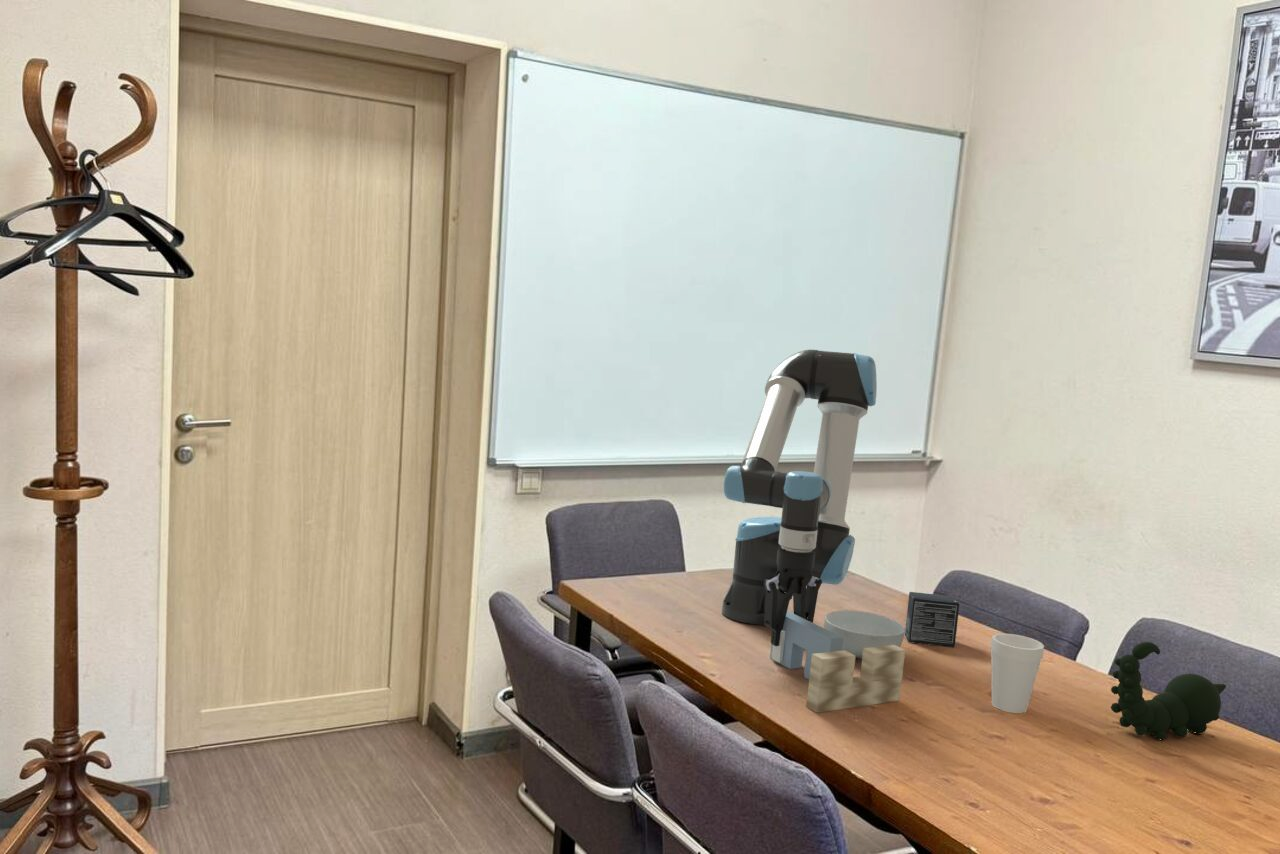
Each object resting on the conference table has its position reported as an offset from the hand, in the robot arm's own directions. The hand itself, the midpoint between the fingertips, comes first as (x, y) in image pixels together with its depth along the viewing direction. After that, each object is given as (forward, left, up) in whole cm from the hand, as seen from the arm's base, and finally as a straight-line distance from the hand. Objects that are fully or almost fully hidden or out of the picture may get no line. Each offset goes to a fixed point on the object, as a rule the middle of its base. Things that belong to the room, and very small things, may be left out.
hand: (784, 659), depth 220 cm
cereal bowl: (+10, +18, -1) cm, 21 cm away
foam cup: (+43, +8, -1) cm, 44 cm away
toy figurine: (+70, +16, -1) cm, 72 cm away
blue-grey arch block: (+5, -3, -1) cm, 6 cm away
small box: (+19, +39, -1) cm, 44 cm away
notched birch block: (+19, -12, -1) cm, 23 cm away
